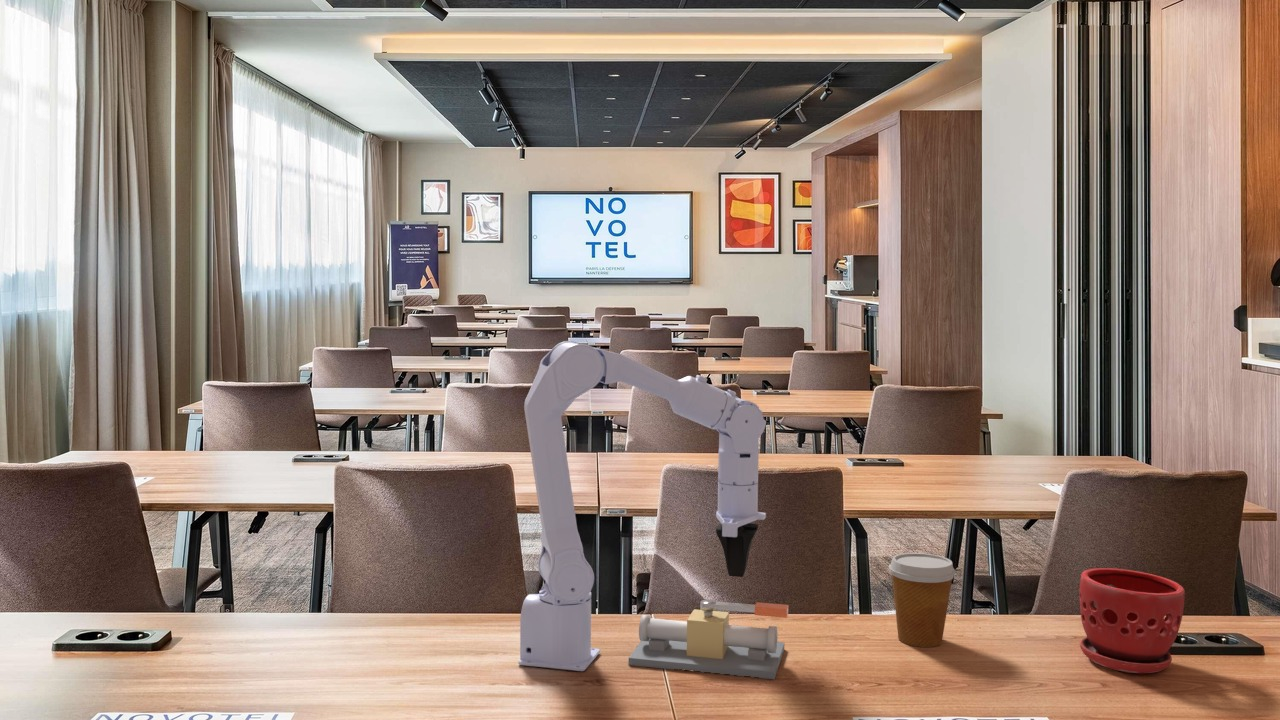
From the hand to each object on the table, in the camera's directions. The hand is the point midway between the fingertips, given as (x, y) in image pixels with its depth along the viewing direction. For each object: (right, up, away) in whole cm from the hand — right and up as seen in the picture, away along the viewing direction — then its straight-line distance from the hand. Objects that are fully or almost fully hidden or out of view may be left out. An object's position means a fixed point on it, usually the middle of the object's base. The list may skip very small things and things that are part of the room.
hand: (736, 575), depth 148 cm
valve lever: (0, -4, -6) cm, 7 cm away
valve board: (-4, -11, -4) cm, 12 cm away
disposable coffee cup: (+28, -11, +4) cm, 30 cm away
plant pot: (+54, -12, -5) cm, 56 cm away
